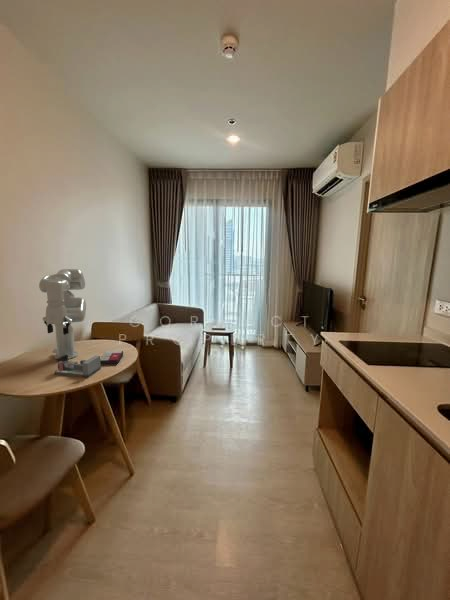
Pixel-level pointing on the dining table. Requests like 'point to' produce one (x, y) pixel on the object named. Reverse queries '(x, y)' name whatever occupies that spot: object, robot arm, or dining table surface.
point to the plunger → (65, 361)
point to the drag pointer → (60, 366)
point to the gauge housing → (82, 368)
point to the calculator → (111, 357)
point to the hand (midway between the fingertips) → (58, 333)
